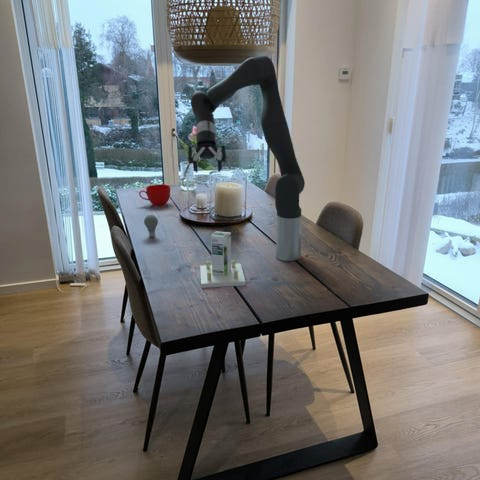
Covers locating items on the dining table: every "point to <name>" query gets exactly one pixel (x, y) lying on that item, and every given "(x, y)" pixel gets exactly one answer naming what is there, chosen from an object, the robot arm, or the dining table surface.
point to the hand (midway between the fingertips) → (207, 171)
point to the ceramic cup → (157, 194)
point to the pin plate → (221, 276)
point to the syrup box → (221, 252)
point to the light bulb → (151, 224)
